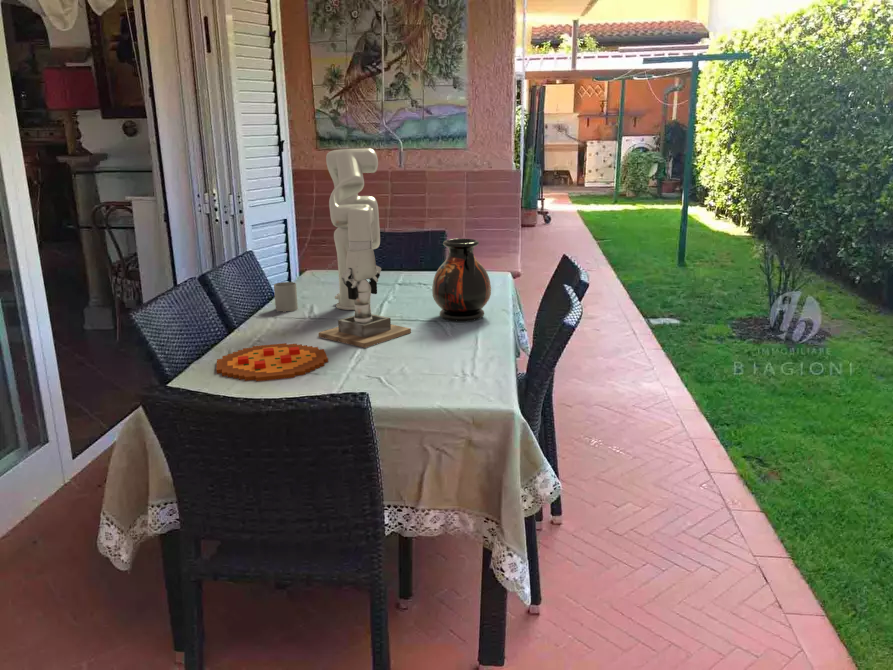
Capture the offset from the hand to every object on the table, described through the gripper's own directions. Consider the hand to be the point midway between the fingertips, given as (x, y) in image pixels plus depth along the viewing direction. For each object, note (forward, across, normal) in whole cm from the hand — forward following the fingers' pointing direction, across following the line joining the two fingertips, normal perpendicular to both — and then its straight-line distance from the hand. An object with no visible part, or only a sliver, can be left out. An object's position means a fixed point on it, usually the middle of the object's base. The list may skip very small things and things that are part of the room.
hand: (363, 296), depth 243 cm
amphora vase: (+14, -38, +12) cm, 42 cm away
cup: (+14, -8, -50) cm, 53 cm away
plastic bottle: (+12, +1, 0) cm, 12 cm away
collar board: (+13, 0, 0) cm, 13 cm away
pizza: (+14, +38, 0) cm, 41 cm away
